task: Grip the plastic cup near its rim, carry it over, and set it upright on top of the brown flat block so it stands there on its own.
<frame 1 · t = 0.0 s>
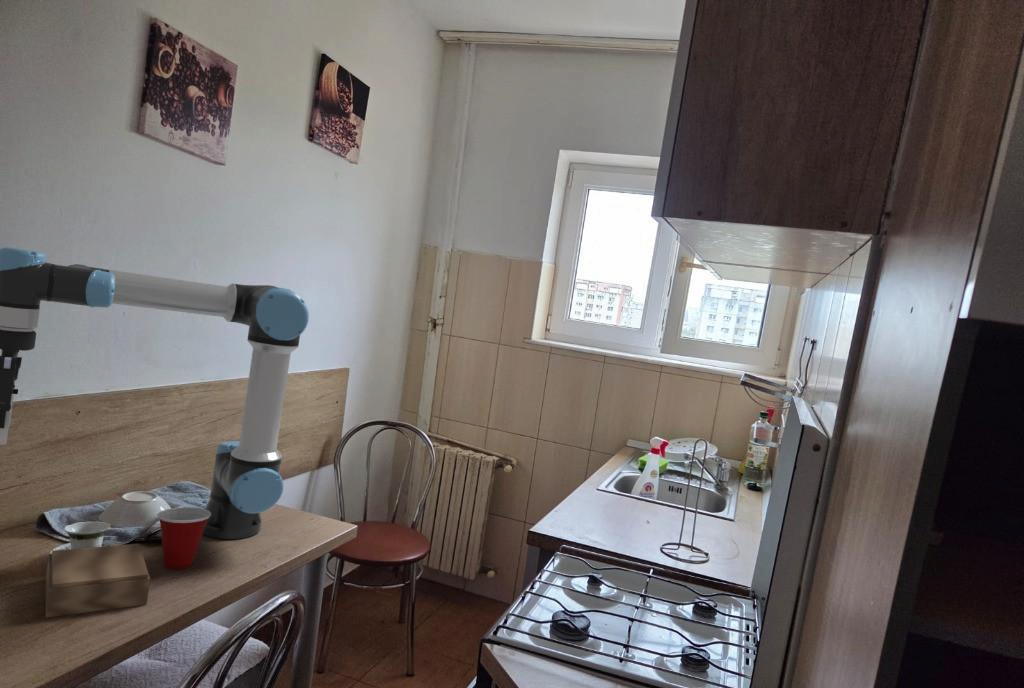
brown flat block: (95, 591, 125), on the table
plastic cup: (177, 564, 142), on the table
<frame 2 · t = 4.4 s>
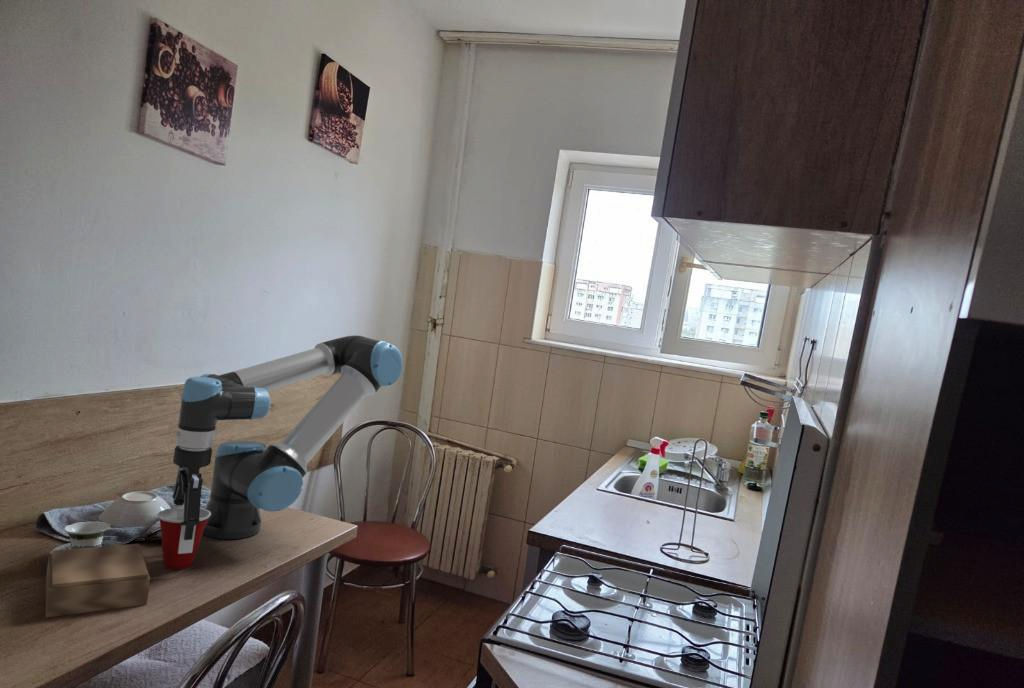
hand: (180, 542, 142), 5 cm above the table, tool pointing down, fingers closed on plastic cup, 11 cm apart
plastic cup: (177, 564, 142), on the table, touching gripper
when the fingers open (12 cm above the table, at t = 11.2 s): plastic cup drops 1 cm, resting on brown flat block.
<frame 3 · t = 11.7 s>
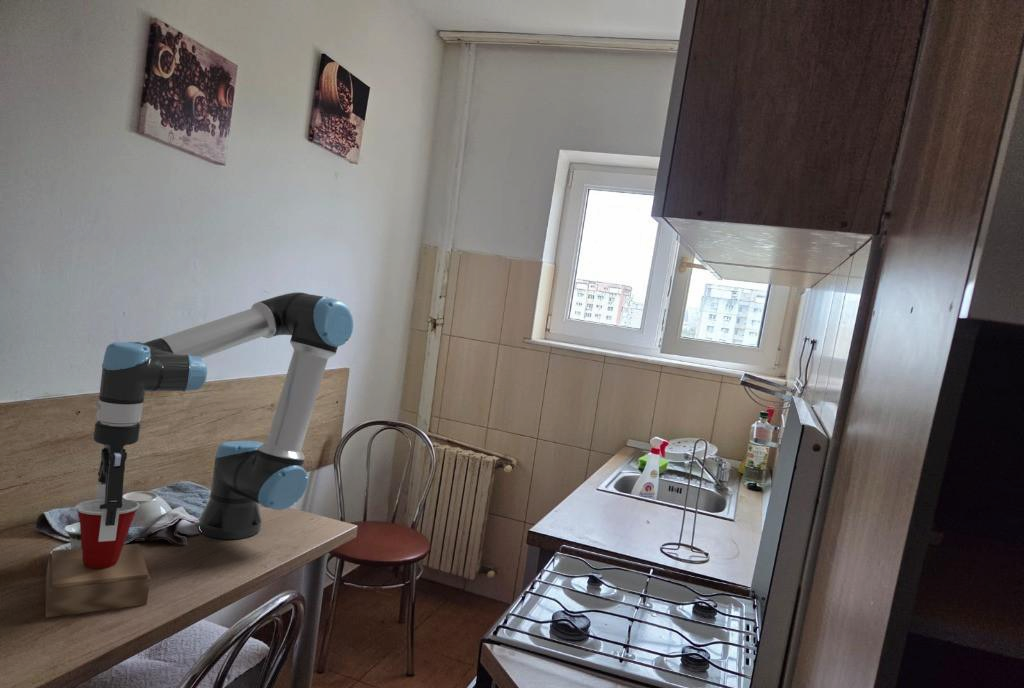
hand: (104, 527, 124), 13 cm above the table, tool pointing down, fingers open, 13 cm apart
plastic cup: (99, 563, 125), point 6 cm above the table, touching brown flat block
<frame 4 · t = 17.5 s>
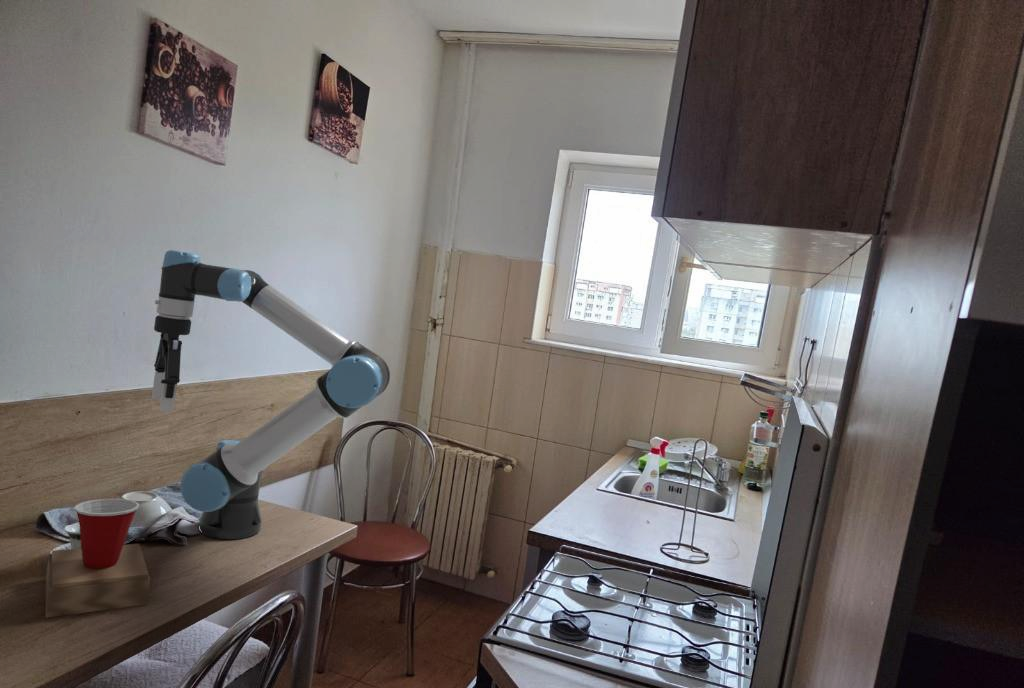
hand: (161, 404, 150), 33 cm above the table, tool pointing down, fingers open, 13 cm apart
nothing on the table moved.
at the end: plastic cup inside the target area on the brown flat block (0.2 cm from its centre), point 5.8 cm above the brown flat block's base; plastic cup tilted 0°; plastic cup touching brown flat block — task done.
